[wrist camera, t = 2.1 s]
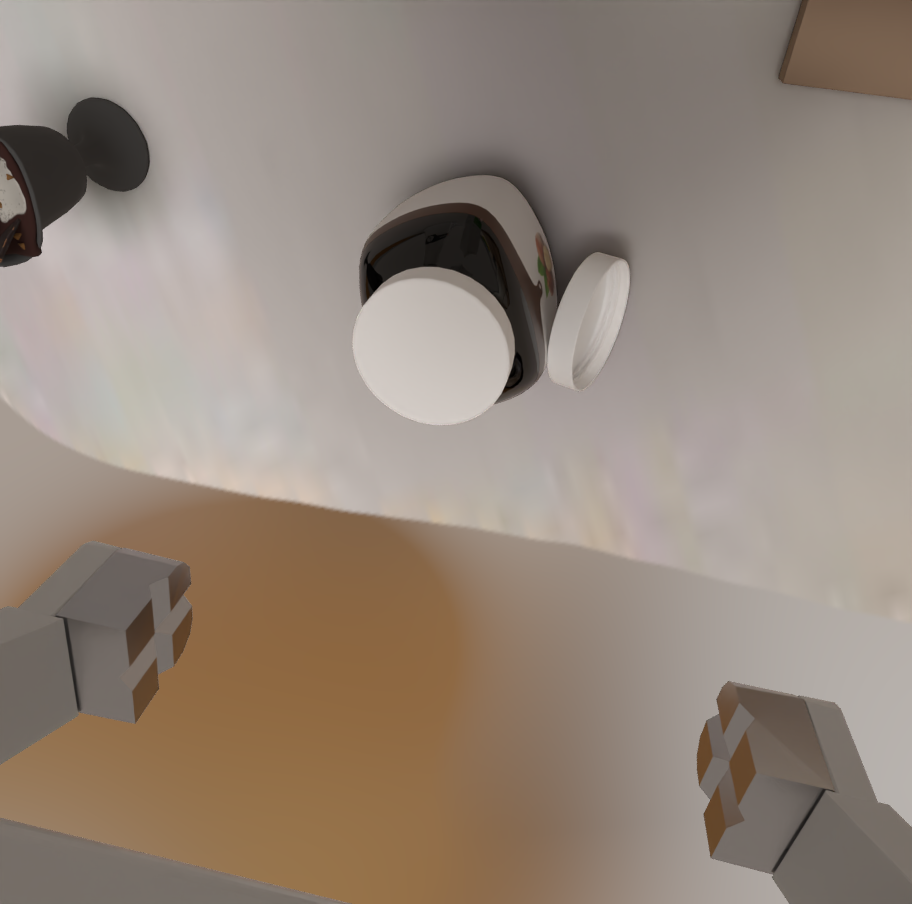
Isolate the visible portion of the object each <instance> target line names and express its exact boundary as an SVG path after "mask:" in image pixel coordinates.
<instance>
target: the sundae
mask: <svg viewBox="0 0 912 904" xmlns="http://www.w3.org/2000/svg"><path fill="white" fill-rule="evenodd" d="M67 134H68V139H67V138H66V137H65V136H63V135H62V134H60V133H59V132H57V131H55V130H53V129H50V128H47V127H43V126H25V125H12V126H1V127H0V267H8V266H13V265H18V264H20V263H23V262H26V261H28V260H29V259H31V258H32V257H36V256H39V255H40V254H41V253H42V251H41V246H42V242H43V232H42V230H43V229H44V228H45V227H47V226H48V225H50V224H51V223H52V222H54V221H55V220H57V219H58V218H60V217H61V216H62V215H64V214H65V213H67V212H68V211H69V210H70V209H71V208H72V207H73V206H74V205H75V204H76V203H78V202H79V201H80V199H81V198H82V197H83V196H84V194H85V192H86V186H87V177H86V175H88V176H89V177H90V178H91V179H92V180H93V181H94V182H96V183H98V184H99V185H101V186H103V187H105V188H107V189H110V190H114V191H122V192H124V191H129V190H132V189H134V188H136V187H138V186H139V185H140V184H141V183H142V181H143V180H144V178H145V177H146V174H147V170H148V165H149V156H148V150H147V145H146V142H145V139H144V137H143V135H142V133H141V131H140V129H139V127H138V125H137V124H136V123H135V121H134V120H133V119H132V118H131V117H130V116H129V115H128V114H127V113H126V112H125V111H124V110H123V109H122V108H120V107H119V106H117V105H116V104H114V103H112V102H110V101H108V100H105V99H100V98H88V99H85V100H83V101H81V102H79V103H77V104H76V106H75V107H74V108H73V109H72V111H71V113H70V114H69V118H68V123H67Z"/></svg>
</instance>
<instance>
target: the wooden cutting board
mask: <svg viewBox="0 0 912 904" xmlns="http://www.w3.org/2000/svg"><path fill="white" fill-rule="evenodd" d="M779 79H780V80H781V82H782V83H785V84H793V85H801V86H809V87H817V88H824V89H832V90H840V91H848V92H855V93H863V94H871V95H879V96H886V97H894V98H902V99H910V100H912V0H802V3H801V6H800V10H799V13H798V16H797V19H796V23H795V26H794V29H793V32H792V36H791V39H790V42H789V45H788V49H787V52H786V55H785V58H784V62H783V65H782V68H781V71H780V75H779Z"/></svg>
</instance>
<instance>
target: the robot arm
mask: <svg viewBox="0 0 912 904" xmlns="http://www.w3.org/2000/svg"><path fill="white" fill-rule="evenodd" d="M190 585H191V577H190V567H189V566H188V565H187V564H186V563H184V562H180V561H176V560H172V559H168V558H164V557H160V556H156V555H152V554H148V553H144V552H139V551H135V550H131V549H127V548H120V547H116V546H112V545H108V544H104V543H100V542H96V541H91V542H88V543H85V544H83V545H82V546H81V547H80V548H79V549H78V550H77V551H76V552H75V553H74V554H73V555H71V557H69V558H68V559H67V561H66V562H64V563H63V564H62V565H61V566H60V567H59V568H58V569H57V570H56V571H55V572H54V573H53V574H52V575H51V576H50V577H49V578H48V579H47V580H46V581H45V582H44V583H43V584H42V585H41V586H40V587H39V588H38V589H37V590H36V591H35V592H34V593H33V594H32V595H31V596H30V597H29V598H28V599H27V600H26V601H25V602H24V603H22V604H21V605H20V606H19V607H18V608H14V607H9V606H7V607H4V608H2V609H0V764H2V763H4V762H5V761H7V760H8V759H10V758H12V757H13V756H15V755H16V754H18V753H20V752H21V751H23V750H24V749H26V748H28V747H29V746H31V745H32V744H34V743H35V742H37V741H39V740H40V739H42V738H43V737H45V736H47V735H48V734H50V733H52V732H53V731H55V730H56V729H58V728H59V727H61V726H63V725H64V724H66V723H67V722H69V721H71V720H72V719H74V718H75V717H77V716H78V712H80V713H85V714H90V715H94V716H99V717H105V718H109V719H114V720H120V721H124V722H129V723H134V724H135V723H136V722H137V721H138V719H139V718H140V716H141V715H142V713H143V712H144V710H145V709H146V707H147V706H148V704H149V703H150V701H151V700H152V698H153V697H154V695H155V693H156V692H157V691H158V689H159V684H158V674H160V673H162V672H164V671H166V670H168V669H169V668H172V667H173V666H174V665H175V664H176V662H177V661H178V659H179V657H180V656H181V654H182V653H183V651H184V648H185V645H186V643H187V640H188V638H189V635H190V631H191V625H192V605H191V604H190V603H189V602H188V600H187V599H186V597H185V596H184V595H183V594H184V593H185V591H186V590H187V589H188V587H189V586H190ZM716 700H717V705H718V710H719V714H718V715H716V716H714V717H712V718H710V719H708V720H707V721H706V723H705V726H704V729H703V731H702V733H701V736H700V740H699V746H698V752H697V774H698V780H699V786H700V788H701V789H702V790H703V791H704V793H705V794H706V795H707V796H708V798H709V799H710V802H709V804H708V806H707V808H706V810H705V812H704V820H705V826H706V832H707V838H708V844H709V851H710V857H711V858H712V859H716V860H720V861H724V862H727V863H731V864H735V865H739V866H743V867H747V868H750V869H754V870H758V871H762V872H765V873H769V874H773V876H772V878H773V880H774V881H775V883H776V884H777V886H778V887H779V889H780V890H781V892H782V893H783V895H784V896H785V898H786V899H787V901H788V902H789V904H912V827H911V826H910V825H909V824H908V823H907V822H906V821H905V820H904V819H903V818H902V817H901V816H900V815H899V814H898V813H897V812H896V811H895V810H894V809H893V808H892V807H891V806H889V805H887V804H883V803H878V801H877V799H876V796H875V794H874V791H873V789H872V786H871V784H870V781H869V779H868V776H867V774H866V771H865V769H864V766H863V764H862V761H861V759H860V756H859V754H858V751H857V748H856V746H855V744H854V741H853V739H852V736H851V734H850V731H849V728H848V726H847V724H846V721H845V718H844V716H843V713H842V711H841V709H840V708H839V707H838V706H837V705H836V704H835V703H834V702H829V701H824V700H819V699H814V698H809V697H804V696H796V695H793V694H788V693H783V692H778V691H773V690H769V689H763V688H759V687H754V686H750V685H745V684H740V683H735V682H731V681H728V682H727V683H726V684H725V685H724V686H723V687H722V689H721V691H720V693H719V695H718V697H717V699H716ZM0 904H350V903H346V902H342V901H338V900H334V899H330V898H326V897H321V896H317V895H314V894H310V893H305V892H301V891H297V890H293V889H289V888H285V887H281V886H277V885H273V884H269V883H265V882H261V881H257V880H252V879H249V878H244V877H240V876H236V875H232V874H228V873H224V872H219V871H216V870H212V869H207V868H204V867H199V866H195V865H191V864H187V863H183V862H179V861H175V860H170V859H166V858H163V857H159V856H155V855H150V854H146V853H142V852H138V851H134V850H130V849H125V848H122V847H118V846H114V845H110V844H106V843H101V842H97V841H93V840H89V839H85V838H81V837H76V836H73V835H68V834H64V833H61V832H56V831H52V830H48V829H44V828H40V827H36V826H32V825H27V824H24V823H20V822H15V821H11V820H7V819H3V818H0Z"/></svg>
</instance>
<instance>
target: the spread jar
mask: <svg viewBox="0 0 912 904" xmlns="http://www.w3.org/2000/svg"><path fill="white" fill-rule="evenodd" d="M359 286H360V297H361V303H362V309H361V311H360V312H359V314H358V316H357V318H356V322H355V325H354V329H353V339H352V347H353V354H354V360H355V362H356V365H357V368H358V371H359V373H360V375H361V377H362V379H363V380H364V382H365V384H366V385H367V387H368V388H369V389H370V390H371V392H372V393H373V394H374V395H375V396H376V398H378V399H379V400H380V401H381V402H382V403H383V404H385V405H386V406H387V407H388V408H390V409H391V410H393V411H395V412H396V413H398V414H399V415H401V416H404V417H406V418H408V419H411V420H413V421H416V422H420V423H425V424H429V425H452V424H459V423H462V422H466V421H469V420H472V419H473V418H475V417H477V416H479V415H481V414H483V413H484V412H485V411H486V410H488V409H489V408H490V407H491V406H492V405H494V404H497V403H501V402H503V401H506V400H509V399H511V398H513V397H516V396H518V395H520V394H522V393H523V392H525V391H526V390H528V389H529V388H530V387H531V386H532V385H534V384H535V383H536V382H537V381H538V379H539V378H540V376H541V375H542V373H543V371H544V369H545V367H546V364H547V369H548V374H549V377H550V379H551V380H552V382H554V383H556V384H559V385H562V386H564V387H567V388H570V389H573V390H576V391H583V390H585V389H586V388H588V387H589V386H590V385H591V384H592V382H593V381H594V380H595V379H596V377H597V376H598V374H599V373H600V371H601V370H602V368H603V366H604V364H605V362H606V360H607V359H608V357H609V354H610V352H611V350H612V348H613V345H614V343H615V340H616V338H617V335H618V333H619V330H620V327H621V324H622V320H623V317H624V313H625V309H626V305H627V301H628V295H629V288H630V269H629V265H628V263H627V261H626V260H624V259H621V258H618V257H614V256H611V255H607V254H603V253H600V252H596V253H593V254H591V255H590V256H588V257H587V258H586V259H585V260H584V261H583V262H582V263H581V265H580V266H579V267H578V269H577V270H576V272H575V273H574V275H573V277H572V278H571V280H570V282H569V284H568V286H567V288H566V290H565V292H564V294H563V297H562V299H561V302H560V304H559V307H558V310H557V290H556V280H555V273H554V266H553V260H552V255H551V251H550V247H549V244H548V241H547V238H546V235H545V233H544V230H543V228H542V226H541V224H540V222H539V220H538V218H537V216H536V215H535V213H534V211H533V210H532V208H531V206H530V205H529V203H528V202H527V201H526V199H525V198H524V196H523V195H522V194H521V193H520V191H519V190H518V189H517V188H516V187H515V186H514V185H513V184H511V183H510V182H509V181H507V180H505V179H503V178H501V177H496V176H490V175H476V176H467V177H461V178H456V179H452V180H448V181H445V182H442V183H439V184H436V185H434V186H431V187H429V188H427V189H425V190H423V191H421V192H419V193H417V194H415V195H414V196H412V197H410V198H409V199H407V200H405V201H404V202H402V203H401V204H400V205H399V206H397V207H396V208H395V209H394V210H393V211H392V212H390V213H389V214H388V215H387V216H386V217H385V218H384V219H383V220H382V221H381V222H380V223H379V224H378V225H377V227H376V228H375V229H374V230H373V232H372V233H371V234H370V236H369V238H368V239H367V241H366V243H365V245H364V248H363V251H362V254H361V258H360V265H359Z"/></svg>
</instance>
